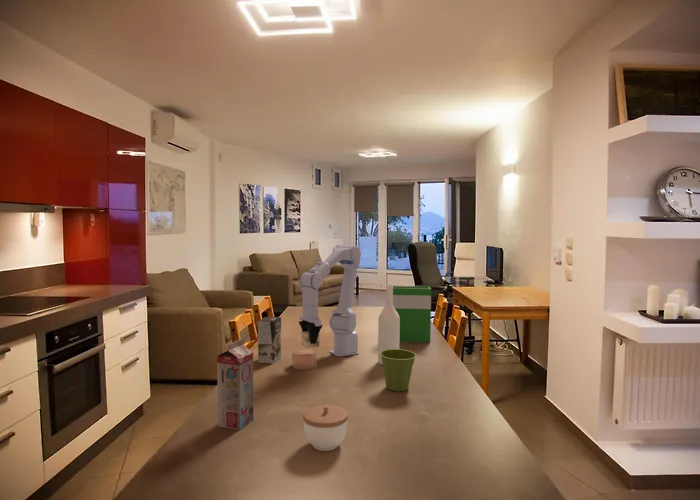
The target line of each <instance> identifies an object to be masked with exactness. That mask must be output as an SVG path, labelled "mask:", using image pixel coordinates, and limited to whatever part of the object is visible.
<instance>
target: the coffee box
mask: <svg viewBox="0 0 700 500" xmlns="http://www.w3.org/2000/svg"><path fill="white" fill-rule="evenodd" d="M257 326H258V327H257V363H260V364H270V365H272V364H274V363H276V362H277V361H278V360H280V359H281V358H282V317H281V316H266V317H264V318H262V319H260V320H258V321H257Z"/></svg>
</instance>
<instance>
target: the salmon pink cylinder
mask: <svg viewBox="0 0 700 500" xmlns="http://www.w3.org/2000/svg"><path fill="white" fill-rule="evenodd" d="M291 355H292V358H291V362H292V363H291V364H292V367H291V368H293V369H295V370H301V371H308V370H313V369H315V368H317V365H318V364H317V362H318V359H317V355H318V352H317V351H316V350H312V349H298V350H294V351H293V352H292V354H291Z"/></svg>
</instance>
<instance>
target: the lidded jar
mask: <svg viewBox="0 0 700 500" xmlns="http://www.w3.org/2000/svg"><path fill="white" fill-rule="evenodd" d="M302 417H303V418H302V419H303V428H304V429H303V431H304V435H305V438H306V439H307V441H308V442H309V443H310V444H311V446H312V447H313V448H314V449H315V450H317V451H321V452H329V451H333V450H336V449H337V448H338V447H339V445H340V444H341V443H342V442H343V441H344V439H345V437H346V435H347V431H348V419H349V412H348V411H347V410H346V409H345V408H343V407H341V406H338V405H331V404H321V405H315V406H312V407H309V408H307V409H306V410H304V412H303V416H302Z"/></svg>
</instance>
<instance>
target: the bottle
mask: <svg viewBox="0 0 700 500" xmlns="http://www.w3.org/2000/svg"><path fill="white" fill-rule="evenodd" d="M393 286H394V285H393V284H392V283H388V284H385V305H384V307H383V309H382V310H381V311H380V314H379V315H378V319H377V320H378V325H377V326H378V327H377V328H378V329H377V330H378V331H377V332H378V333H377V335H378V336H377V337H378V338H377V351H378V352H377V362H378V364H379V365H381V366H383V362H382V357H381V356H380V352H381V351H384V350H388V349H400V341H399V339H400V318H399V315H398V313H397V311H396V310H395V308H394V306H393Z"/></svg>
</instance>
